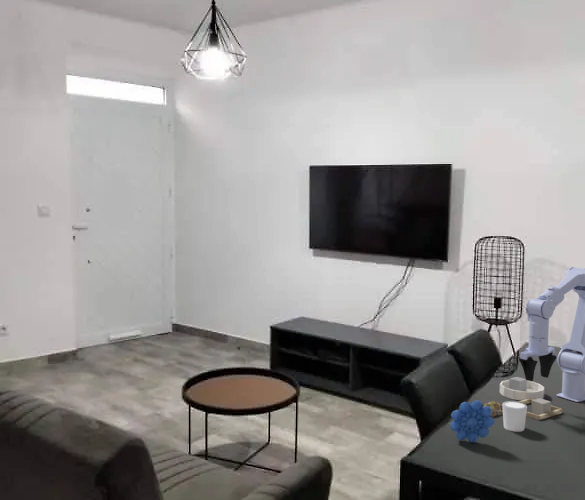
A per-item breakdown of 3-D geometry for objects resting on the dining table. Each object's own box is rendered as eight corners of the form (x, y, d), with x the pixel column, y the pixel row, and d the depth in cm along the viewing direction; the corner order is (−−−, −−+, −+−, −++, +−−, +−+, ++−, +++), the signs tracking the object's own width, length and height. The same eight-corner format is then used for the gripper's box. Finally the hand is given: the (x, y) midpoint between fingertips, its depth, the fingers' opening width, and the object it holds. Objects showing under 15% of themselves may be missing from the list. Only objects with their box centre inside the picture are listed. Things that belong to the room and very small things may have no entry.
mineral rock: (481, 398, 193) (505, 396, 188) (485, 411, 193) (509, 410, 188) (469, 408, 184) (494, 407, 180) (472, 422, 184) (497, 421, 179)
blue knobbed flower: (494, 439, 165) (495, 397, 164) (493, 448, 158) (494, 405, 158) (451, 433, 169) (452, 392, 168) (448, 442, 162) (449, 400, 162)
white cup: (526, 425, 175) (526, 402, 175) (527, 433, 169) (527, 409, 168) (501, 422, 177) (502, 399, 177) (501, 430, 171) (502, 407, 170)
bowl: (517, 385, 213) (517, 377, 213) (552, 396, 201) (552, 387, 201) (491, 392, 206) (491, 383, 206) (526, 403, 194) (526, 394, 194)
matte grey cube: (516, 387, 209) (516, 376, 208) (526, 390, 205) (526, 379, 205) (509, 389, 207) (509, 378, 206) (519, 392, 203) (519, 381, 203)
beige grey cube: (539, 410, 188) (539, 398, 188) (550, 414, 185) (551, 401, 184) (531, 412, 186) (531, 400, 186) (542, 416, 183) (543, 404, 182)
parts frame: (529, 401, 196) (529, 398, 196) (562, 412, 185) (563, 409, 185) (505, 408, 189) (505, 404, 189) (538, 420, 179) (538, 416, 179)
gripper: (542, 331, 194) (540, 372, 195) (512, 336, 187) (511, 378, 188) (561, 335, 188) (559, 377, 189) (532, 341, 181) (530, 384, 182)
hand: (537, 378), depth 188 cm, fingers open, 7 cm apart
